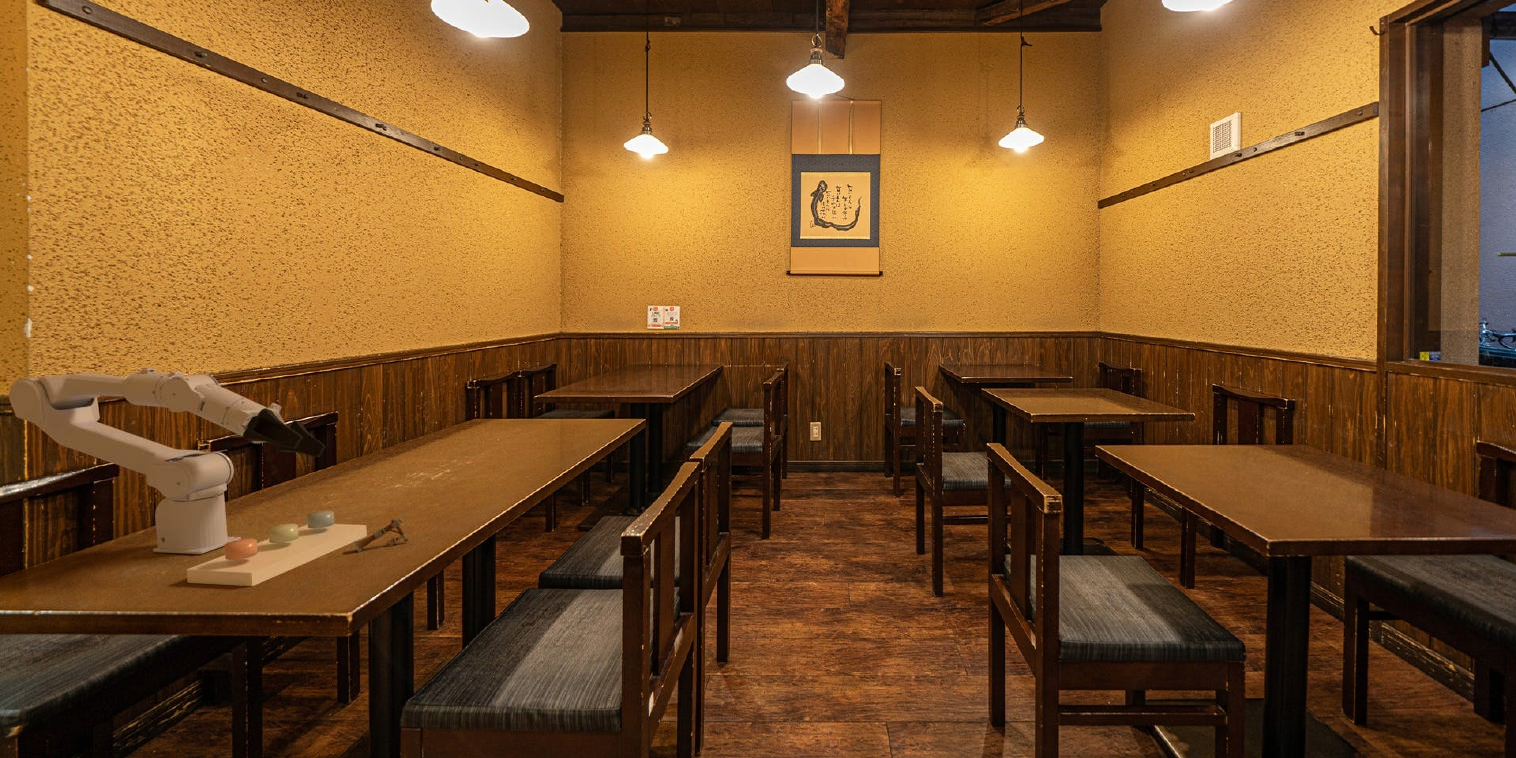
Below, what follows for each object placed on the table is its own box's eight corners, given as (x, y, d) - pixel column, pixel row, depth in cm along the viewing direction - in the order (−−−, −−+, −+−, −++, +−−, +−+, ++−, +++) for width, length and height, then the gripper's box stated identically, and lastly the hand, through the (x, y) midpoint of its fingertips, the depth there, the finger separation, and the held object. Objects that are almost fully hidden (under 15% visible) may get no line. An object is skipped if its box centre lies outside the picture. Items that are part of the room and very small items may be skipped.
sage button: (263, 542, 117) (262, 530, 116) (283, 535, 120) (282, 523, 120) (285, 543, 116) (284, 531, 116) (304, 535, 120) (303, 524, 120)
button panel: (187, 582, 108) (186, 569, 107) (312, 533, 131) (311, 522, 131) (252, 586, 106) (251, 572, 106) (366, 536, 129) (366, 525, 129)
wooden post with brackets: (414, 538, 125) (401, 516, 124) (367, 565, 121) (353, 543, 120) (412, 535, 127) (399, 514, 125) (366, 562, 123) (352, 540, 121)
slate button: (302, 528, 124) (301, 516, 124) (319, 521, 128) (319, 510, 128) (322, 528, 124) (322, 517, 124) (340, 522, 128) (339, 510, 127)
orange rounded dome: (218, 559, 109) (217, 546, 108) (241, 550, 113) (240, 538, 112) (241, 560, 108) (240, 547, 108) (264, 551, 112) (263, 539, 112)
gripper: (226, 381, 116) (301, 415, 115) (276, 404, 130) (344, 435, 129) (198, 420, 114) (275, 455, 113) (252, 439, 128) (321, 471, 127)
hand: (310, 447), depth 121 cm, fingers open, 7 cm apart
